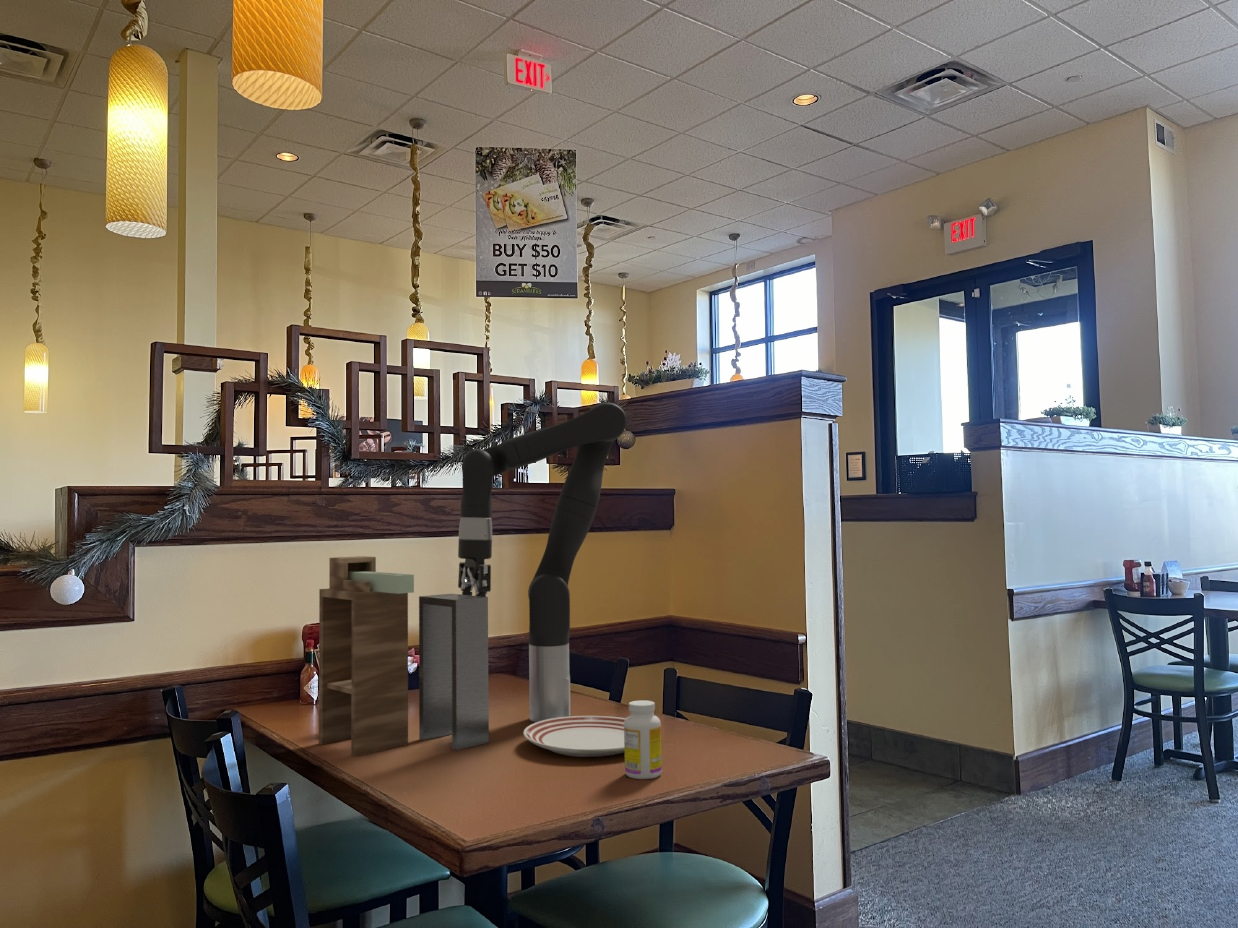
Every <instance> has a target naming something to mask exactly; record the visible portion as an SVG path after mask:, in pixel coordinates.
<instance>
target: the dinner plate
mask: <svg viewBox="0 0 1238 928" xmlns="http://www.w3.org/2000/svg"><path fill="white" fill-rule="evenodd" d="M626 718H627V717H618V716H607V715H605V716H604V715H574V716H573V715H572V716H571V715H570V716H569V717H558V718H552V719H547V720H542V721H539V722H533V723H531V724H530V725H528V726H526V727H525V728H524V730H523V732H522V734H523V736H524V738H525V739H527V740H528V741H529V742H530V743H532V744H533V745H535V746H538V747H540V748H543V749H545V750H547V751H548V750H549V751H551V752H553V753H556V754H559V755H564V756H568V757H569V756H570V757H579V758H580V757H583V758H585V757H588V758H590V757H591V758H592V757H607V756H613V755H618V754H623V753H625V749H624V721H625V719H626Z"/></svg>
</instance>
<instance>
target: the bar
mask: <svg viewBox="0 0 1238 928" xmlns="http://www.w3.org/2000/svg"><path fill="white" fill-rule="evenodd" d="M348 580H355V581H367V582H370V591H376V592H386V593H396V594H401V593H408V594H410V593H411V594H413V593H415V575H414V574H410V573H407V574H406V573H397V572H396V573H392V572H379V571H376V572H368V571H348Z"/></svg>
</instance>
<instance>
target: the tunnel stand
mask: <svg viewBox="0 0 1238 928" xmlns="http://www.w3.org/2000/svg"><path fill="white" fill-rule="evenodd" d="M376 562H377V559H376V556H366V555H365V556H364V555H362V556H361V555H359V556H358V555H357V556H338V557H329V562H328V563H329V564H328V565H329V569H328V570H329V571H328V572H329V577H328V578H329V581H328V582H329V584H328V585H329V588H319V589H318V590H319V592H318V593H319V595H318V596H319V598H318V599H319V600H318V601H319V605H318V606H319V607H318V609H319V618H318V619H319V621H318V623H319V624H318V625H319V628H318V630H319V631H318V633H319V635H318V638H319V639H318V643H319V644H318V651H319V652H318V655H319V656H318V662H319V663H318V684H319V685H318V744H319V745H321V746H322V745H326V744H331V743H332V744H333V743H336V742H343V741H346V740H351V744H350V745H351V746H350V747H351V748H350V750H351V752H350V753H351V756H354V757H357V756H362V755H367V754H371V753H372V754H373V753H376V752H381V751H384V750H385V751H386V750H390V749H394V748H399V747H403V746H408V745H409V593H401V594H396V593H386V592H376V591H370V582H367V581H355V580H348V571H368V572H377V568H376V567H377V566H376V565H377V564H376Z"/></svg>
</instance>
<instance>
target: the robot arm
mask: <svg viewBox="0 0 1238 928" xmlns="http://www.w3.org/2000/svg"><path fill="white" fill-rule="evenodd" d="M627 420H628V419H627V415H626V413H625V411H624V410H623V409H622V408H621V406H619V405H617V404H616V403H613V402H601V403H598V404H596V405H594V406H593V407H591V408H590V409H589V410H588V411H586V412H584V413H582V414H580V415H579V416H576V417H574V418H571V419H569V420H566V421H564V422H561V423H557V424H555V425H554V424H553V425H552V426H548V427H543V428H540V429H537V430H533V431H530V432H527V433H524V434H520V435H517V436H514V437H512V438H509V439H507V440H504V441H502V442H501V443H499V444H496V445H493V446H489V447H486V448H483V449H473V450H470V451H469V452H467V453H466V455H465V456H464V457H463V459H462V463H461V470H462V471H461V472H462V494H461V500H460V520H459V526H458V551H457V552H458V554H457V556H458V558H459V559H463V560H464V561H463V562H462V561H459V563H458V566H459V567H458V580H457V581H458V582H457V588H459V589H460V591H461V595H471V596H473V588H474V591H475V595H474V596H482V597H487V594H488V592H491V590H492V587H491V586H492V583H491V579H492V568H491V567H492V566H491V564H485V560H490V559H491V558H492V554H493V553H492V551H493V548H492V547H493V523H492V520H493V519H492V516H493V515H492V513H493V501H492V490H493V483H494V482H493V480H494V477H496V476H498V475H500V474H502V473H506V472H507V471H511V470H517V469H519V468H523V467H526V466H529V465H531V464H534V463H537V462H540V461H542V460H545V459H547V458H550V457H552V456H555V455H556V454H558V453H561V452H564V451H567V450H570V449H573V448H576V447H577V451H576V454H575V457H574V459H573V462H572V465H571V467H570V469H569V471H568V473H567V476H566V478H565V481H564V483H563V487H562V488H561V492H560V494H559V497H558V499H557V504H556V506H555V508H554V512H553V513H554V514H553V516H552V519H551V523H550V527H549V533H548V537H547V542H546V546H545V549H544V552H543V555H542V558H541V560H540V563H539V564H538V566H537V567H538V568H537V569H536V572H535V574H534V575H533V577H532V580H531V582H530V583H529V586H528V589H527V590H528V591H527V594H528V595H527V596H528V601H529V603H528V608H529V609H528V611H529V617H528V618H529V620H528V621H529V624H528V625H529V628H528V630H529V631H528V661H529V662H528V663H529V664H528V665H529V666H528V668H529V669H528V670H529V671H528V675H529V676H528V678H529V682H528V684H529V686H528V687H529V689H528V690H529V692H528V693H529V712H528V713H529V720H530V721H531V722H533V723H536V722H539V721H542V720H547V719H552V718H558V717H569V716H571V674H570V633H571V632H570V631H571V602H570V601H571V598H570V597H571V594H570V590H569V587H568V586H569V581H570V576H571V573H572V568H573V565H574V562H575V559H576V556H577V554H578V552H579V550H580V548H581V547H582V545H583V543H584V541H585V539H586V538H587V535H588V533H589V530H590V529H591V527H592V524H593V521H594V517H595V515H596V512H597V508H598V505H599V502H600V497H601V491H602V485H603V474H604V469H605V464H606V461H607V458H608V456H609V454H610V451H611V448H612V447H613V444H614V442H615V440H617V439H618V438H620V437H621V436H622V435H623V433H624V432H625V430H626V428H627Z"/></svg>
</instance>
